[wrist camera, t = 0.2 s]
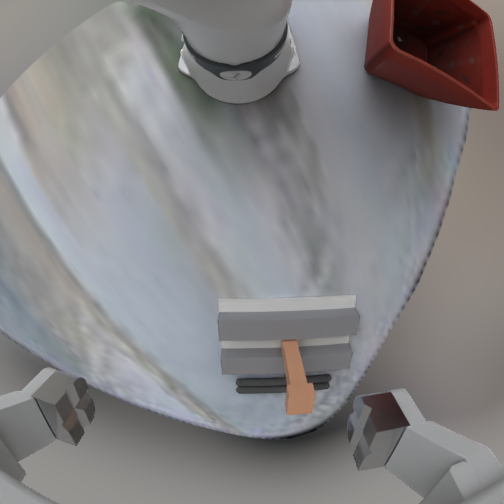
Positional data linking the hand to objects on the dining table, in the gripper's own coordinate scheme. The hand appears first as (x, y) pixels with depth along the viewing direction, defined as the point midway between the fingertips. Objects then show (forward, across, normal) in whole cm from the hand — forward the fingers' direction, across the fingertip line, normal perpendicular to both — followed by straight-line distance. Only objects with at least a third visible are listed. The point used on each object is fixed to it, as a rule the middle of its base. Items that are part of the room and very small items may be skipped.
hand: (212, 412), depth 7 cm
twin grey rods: (+42, -7, +32) cm, 53 cm away
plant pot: (+38, -26, -32) cm, 56 cm away
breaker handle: (+40, -7, +21) cm, 45 cm away
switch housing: (+41, -7, +20) cm, 46 cm away
